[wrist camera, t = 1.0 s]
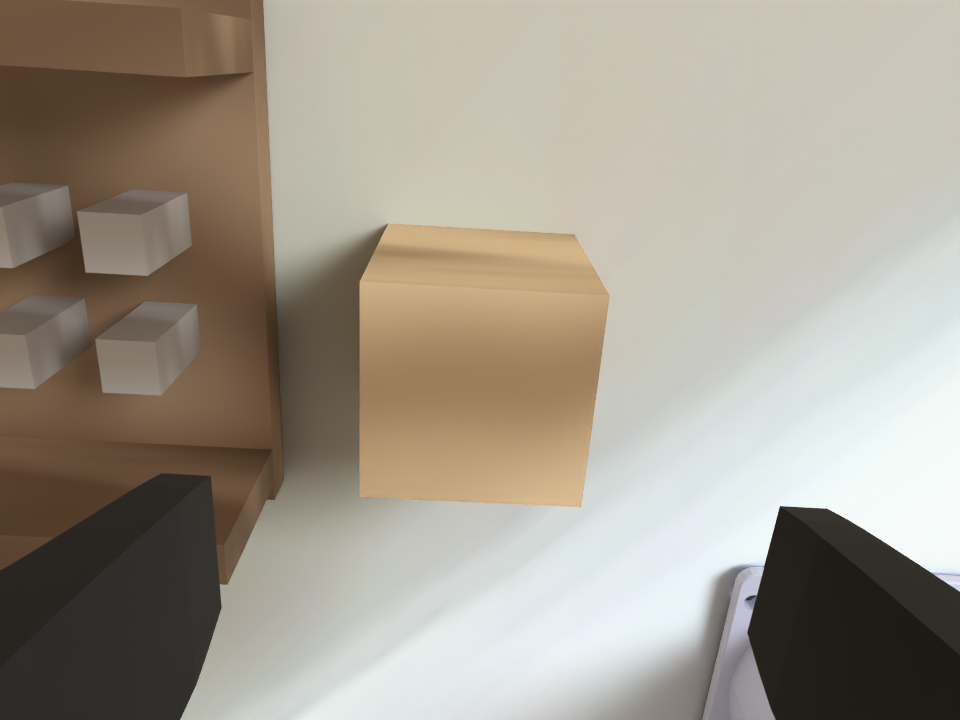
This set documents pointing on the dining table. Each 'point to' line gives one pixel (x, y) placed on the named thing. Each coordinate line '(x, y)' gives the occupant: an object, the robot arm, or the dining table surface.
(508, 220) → the dining table surface
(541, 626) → the dining table surface
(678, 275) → the dining table surface
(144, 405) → the stand
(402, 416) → the light wooden block
